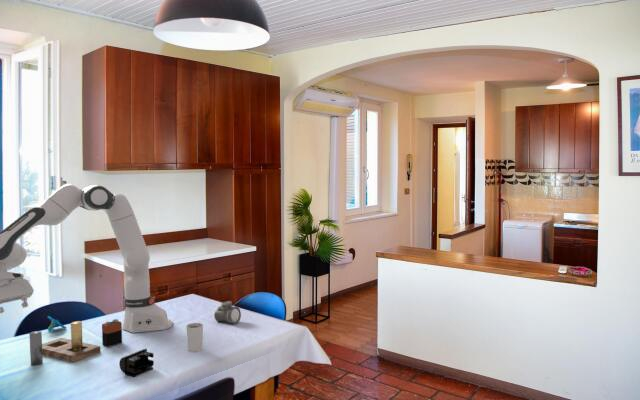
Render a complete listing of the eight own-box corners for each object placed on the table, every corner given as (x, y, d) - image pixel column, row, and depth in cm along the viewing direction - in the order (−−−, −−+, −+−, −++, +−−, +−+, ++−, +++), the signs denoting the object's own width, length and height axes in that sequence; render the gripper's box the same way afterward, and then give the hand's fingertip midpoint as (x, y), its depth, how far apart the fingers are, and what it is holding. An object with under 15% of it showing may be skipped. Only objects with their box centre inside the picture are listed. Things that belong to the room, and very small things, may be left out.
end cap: (141, 364, 187) (141, 347, 187) (154, 368, 184) (154, 350, 183) (119, 374, 179) (118, 355, 178) (132, 378, 175) (132, 359, 175)
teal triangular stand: (69, 327, 227) (51, 315, 223) (60, 338, 225) (41, 326, 220) (64, 325, 236) (46, 313, 232) (55, 336, 233) (37, 324, 229)
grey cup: (188, 353, 198) (188, 328, 198) (185, 348, 204) (184, 324, 204) (205, 350, 202) (204, 326, 201) (201, 345, 207) (200, 321, 207)
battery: (122, 342, 211) (121, 319, 211) (107, 347, 206) (106, 323, 205) (117, 340, 214) (116, 318, 213) (102, 345, 209) (101, 321, 208)
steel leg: (44, 361, 191) (43, 330, 190) (39, 365, 187) (38, 334, 186) (33, 361, 191) (32, 331, 190) (28, 365, 187) (27, 334, 186)
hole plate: (34, 352, 200) (34, 346, 200) (61, 343, 211) (61, 337, 211) (74, 362, 190) (73, 356, 190) (100, 352, 200) (100, 346, 200)
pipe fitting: (243, 320, 240) (239, 300, 240) (232, 326, 233) (228, 305, 233) (224, 319, 246) (220, 299, 246) (213, 325, 239) (209, 305, 239)
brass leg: (84, 352, 200) (83, 321, 199) (80, 356, 196) (79, 324, 195) (74, 353, 199) (72, 321, 199) (70, 356, 196) (69, 324, 195)
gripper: (-27, 282, 187) (-11, 311, 183) (26, 272, 205) (42, 298, 201) (-34, 292, 189) (-18, 321, 185) (20, 282, 207) (35, 308, 203)
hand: (14, 309), depth 193 cm, fingers open, 8 cm apart
